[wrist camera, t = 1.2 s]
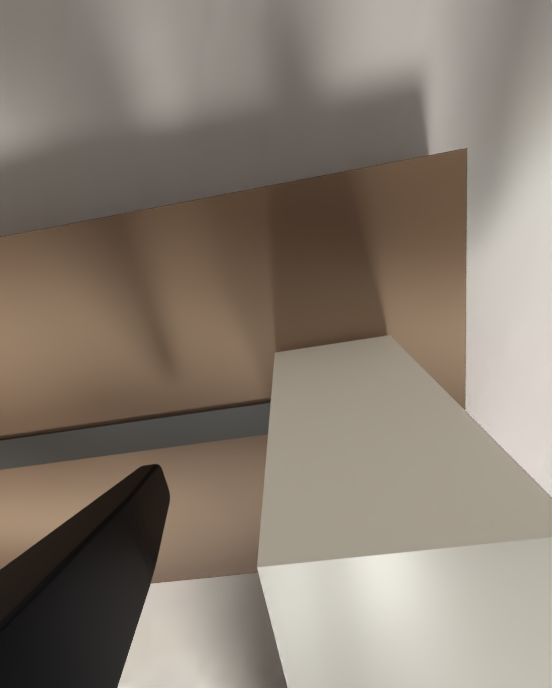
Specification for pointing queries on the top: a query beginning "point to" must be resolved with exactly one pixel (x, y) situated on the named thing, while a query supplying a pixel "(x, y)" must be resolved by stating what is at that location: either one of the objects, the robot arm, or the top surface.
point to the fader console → (210, 341)
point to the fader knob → (397, 531)
